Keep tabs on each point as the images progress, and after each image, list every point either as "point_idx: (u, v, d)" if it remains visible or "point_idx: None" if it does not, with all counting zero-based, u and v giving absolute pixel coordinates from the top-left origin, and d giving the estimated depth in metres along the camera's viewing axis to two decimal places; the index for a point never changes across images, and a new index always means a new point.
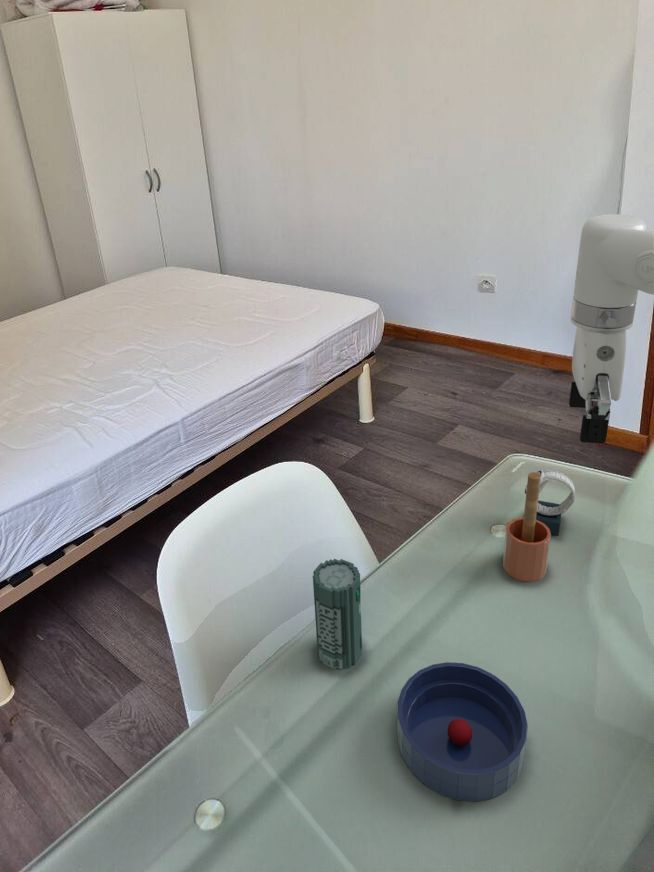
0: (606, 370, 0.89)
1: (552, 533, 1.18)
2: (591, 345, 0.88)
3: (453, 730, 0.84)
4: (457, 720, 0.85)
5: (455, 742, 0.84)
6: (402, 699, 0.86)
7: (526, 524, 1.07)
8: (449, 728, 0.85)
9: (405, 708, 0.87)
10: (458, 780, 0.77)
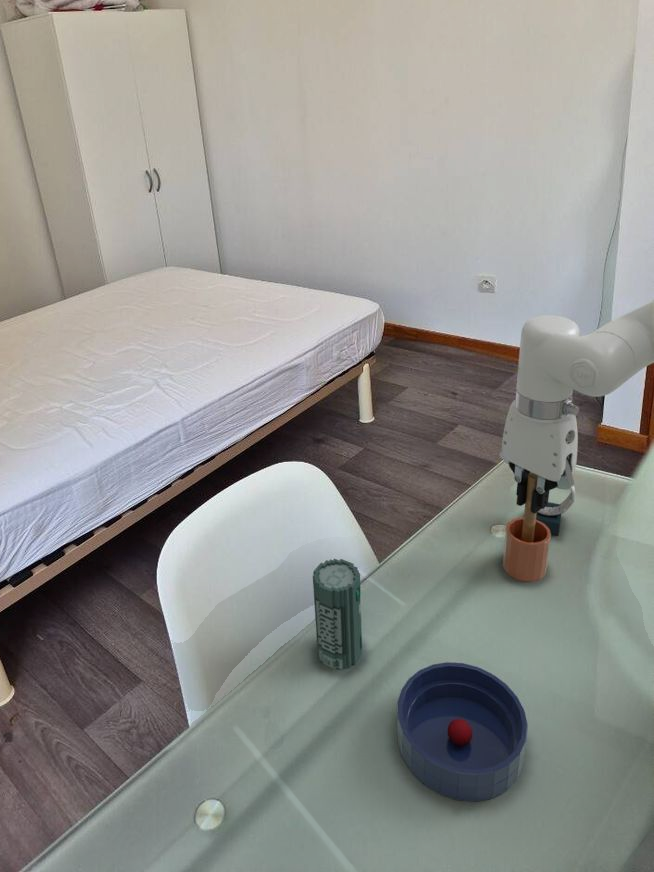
0: (571, 450, 0.97)
1: (552, 533, 1.18)
2: (560, 434, 0.95)
3: (453, 730, 0.84)
4: (457, 720, 0.85)
5: (455, 742, 0.84)
6: (402, 699, 0.86)
7: (526, 524, 1.07)
8: (449, 728, 0.85)
9: (405, 708, 0.87)
10: (458, 780, 0.77)
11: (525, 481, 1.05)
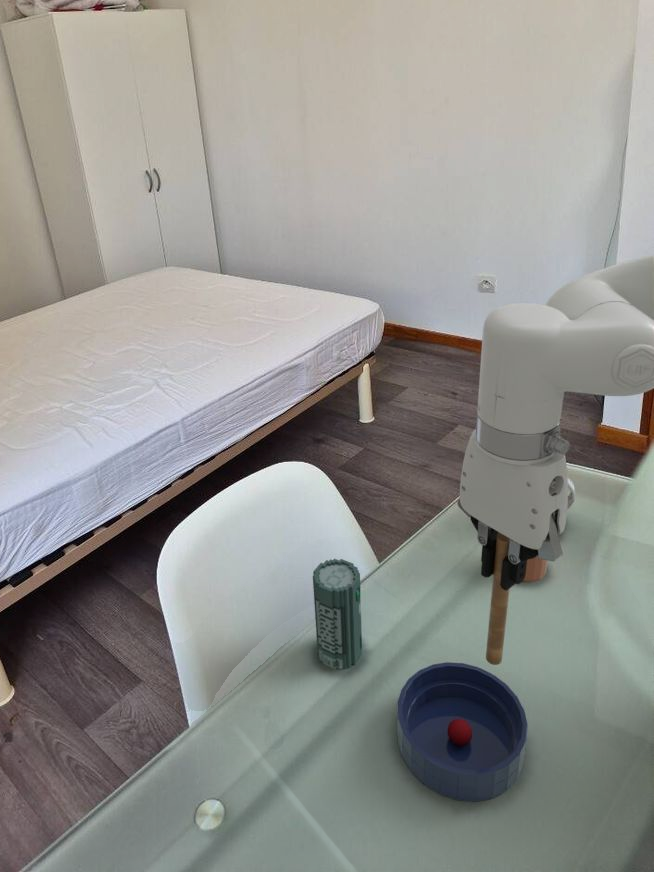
0: (558, 505, 0.65)
1: None
2: (541, 483, 0.63)
3: (453, 730, 0.84)
4: (457, 720, 0.85)
5: (455, 742, 0.84)
6: (402, 699, 0.86)
7: (495, 603, 0.75)
8: (449, 728, 0.85)
9: (405, 708, 0.87)
10: (458, 780, 0.77)
11: (493, 543, 0.73)
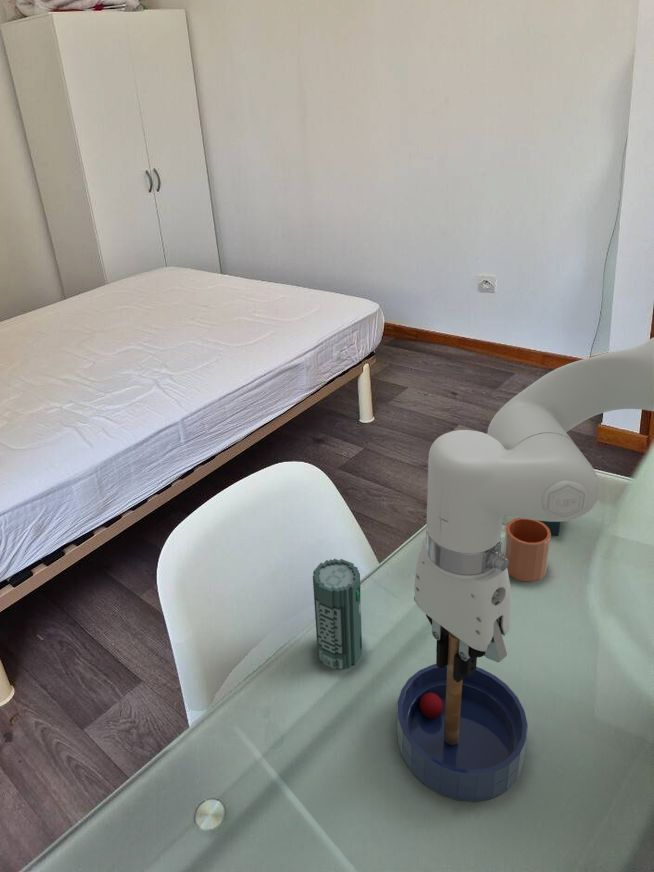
0: (501, 612, 0.71)
1: (552, 533, 1.18)
2: (484, 595, 0.69)
3: None
4: None
5: (420, 707, 0.88)
6: (402, 699, 0.86)
7: (449, 691, 0.81)
8: (430, 717, 0.88)
9: (405, 708, 0.87)
10: (458, 780, 0.77)
11: (446, 638, 0.78)
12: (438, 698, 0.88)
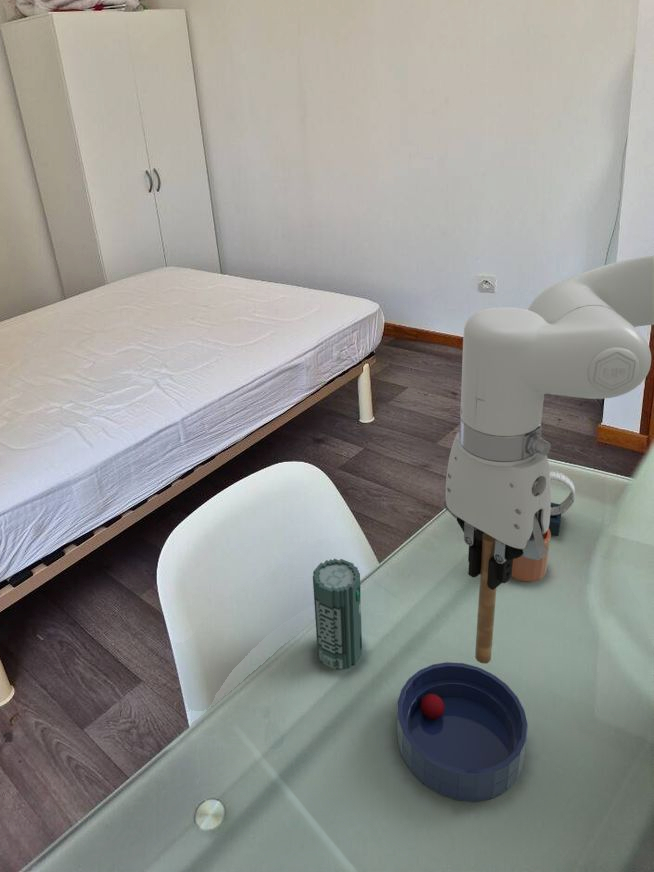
0: (541, 505, 0.66)
1: (552, 533, 1.18)
2: (524, 483, 0.64)
3: None
4: None
5: (421, 708, 0.88)
6: (402, 699, 0.86)
7: (482, 602, 0.76)
8: (430, 718, 0.88)
9: (405, 708, 0.87)
10: (458, 780, 0.77)
11: (479, 543, 0.74)
12: (440, 700, 0.88)
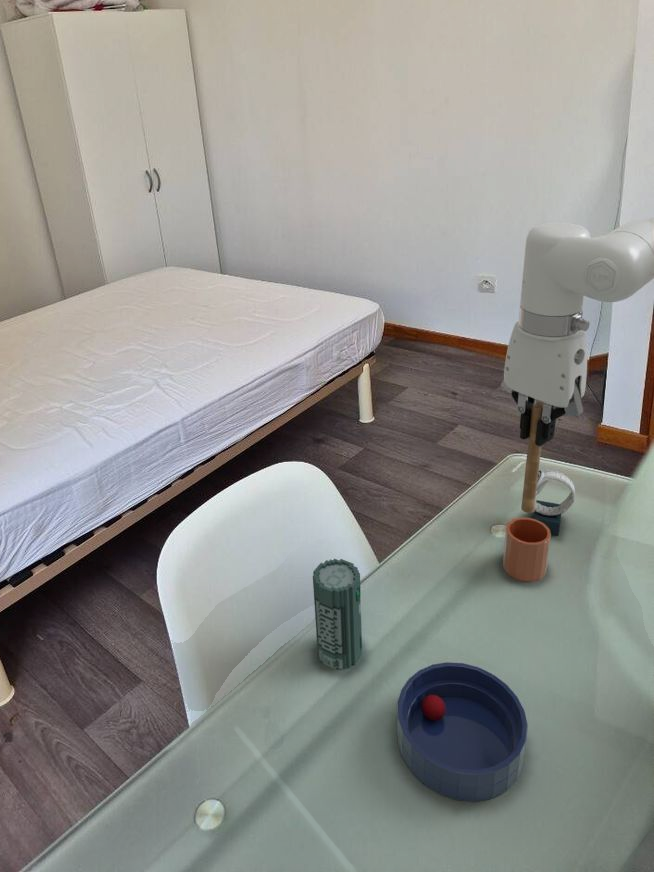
0: (580, 372, 0.89)
1: (552, 533, 1.18)
2: (569, 353, 0.87)
3: None
4: None
5: (423, 709, 0.88)
6: (402, 699, 0.86)
7: (530, 460, 0.99)
8: (431, 719, 0.88)
9: (405, 708, 0.87)
10: (458, 780, 0.77)
11: (529, 411, 0.97)
12: (442, 702, 0.88)
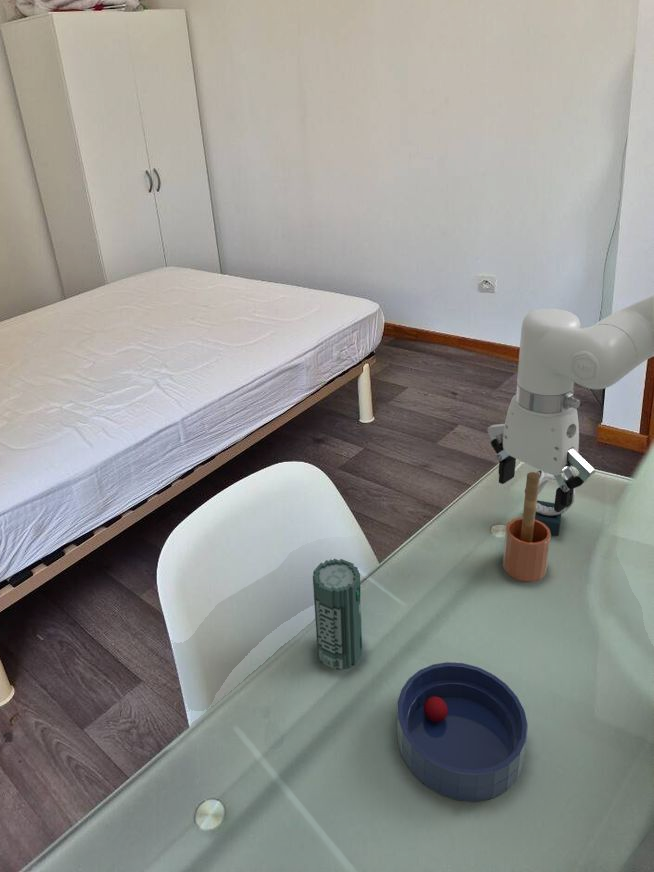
0: (572, 444, 0.97)
1: (552, 533, 1.18)
2: (561, 428, 0.95)
3: None
4: None
5: (425, 710, 0.87)
6: (402, 699, 0.86)
7: (525, 524, 1.07)
8: (432, 721, 0.88)
9: (405, 708, 0.87)
10: (458, 780, 0.77)
11: (507, 459, 1.06)
12: (445, 706, 0.87)
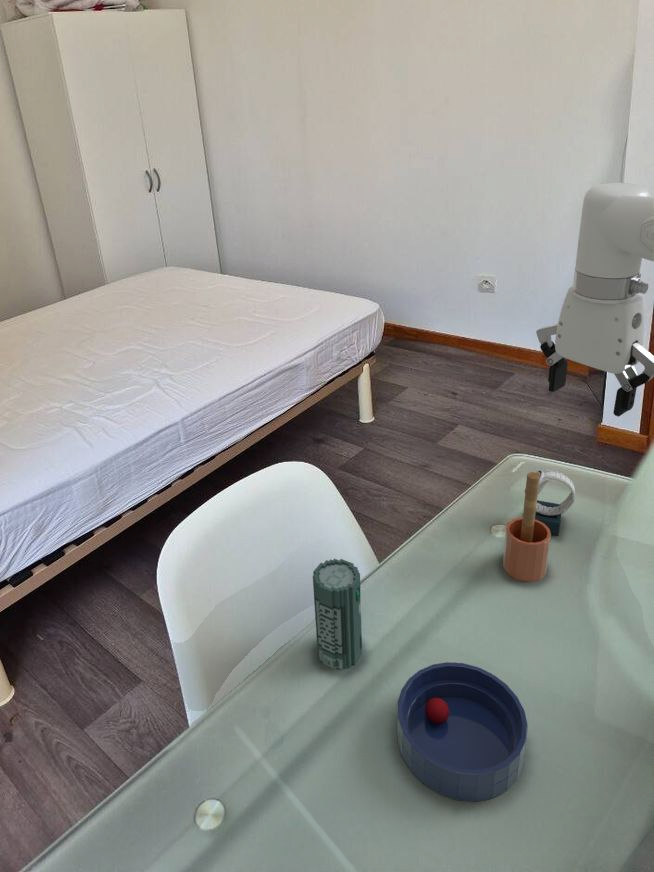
0: (637, 337, 0.87)
1: (552, 533, 1.18)
2: (626, 317, 0.85)
3: None
4: None
5: (427, 712, 0.87)
6: (402, 699, 0.86)
7: (525, 524, 1.07)
8: (432, 721, 0.88)
9: (405, 708, 0.87)
10: (458, 780, 0.77)
11: (558, 363, 0.97)
12: (448, 709, 0.87)
